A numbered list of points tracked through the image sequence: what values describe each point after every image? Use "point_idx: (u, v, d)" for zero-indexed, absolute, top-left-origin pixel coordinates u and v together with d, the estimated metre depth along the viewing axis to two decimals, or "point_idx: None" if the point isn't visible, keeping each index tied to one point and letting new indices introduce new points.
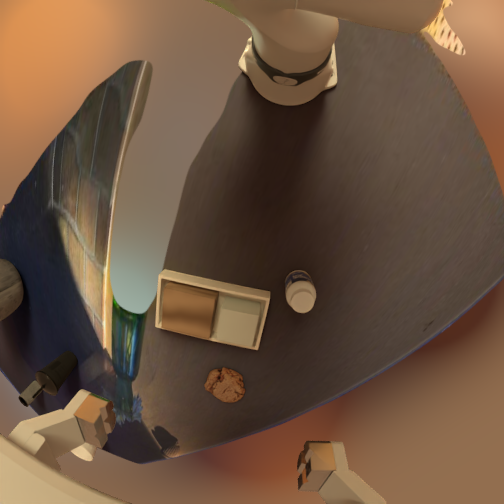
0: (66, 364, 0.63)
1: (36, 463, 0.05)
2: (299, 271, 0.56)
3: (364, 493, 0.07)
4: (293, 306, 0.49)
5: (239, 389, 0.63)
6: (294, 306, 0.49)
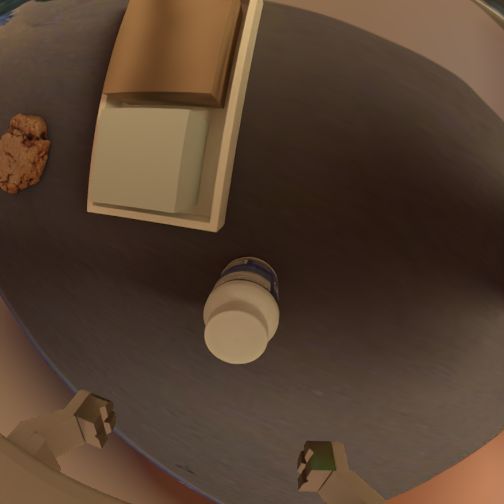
0: None
1: (36, 463, 0.05)
2: None
3: (364, 493, 0.07)
4: (221, 317, 0.17)
5: (13, 182, 0.24)
6: (221, 319, 0.17)
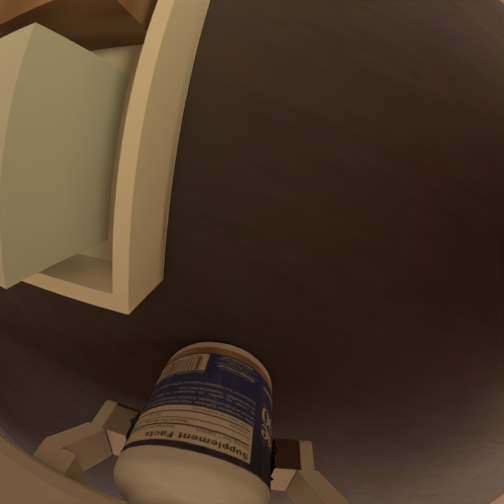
0: None
1: (36, 463, 0.05)
2: None
3: (328, 495, 0.07)
4: None
5: None
6: None
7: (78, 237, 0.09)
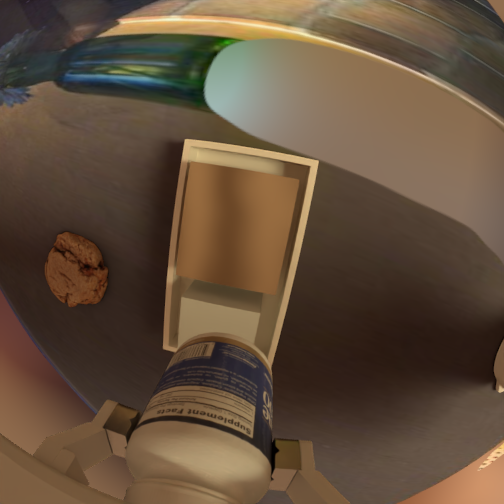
0: None
1: (36, 463, 0.05)
2: (272, 386, 0.13)
3: (329, 495, 0.07)
4: None
5: (74, 301, 0.32)
6: None
7: None
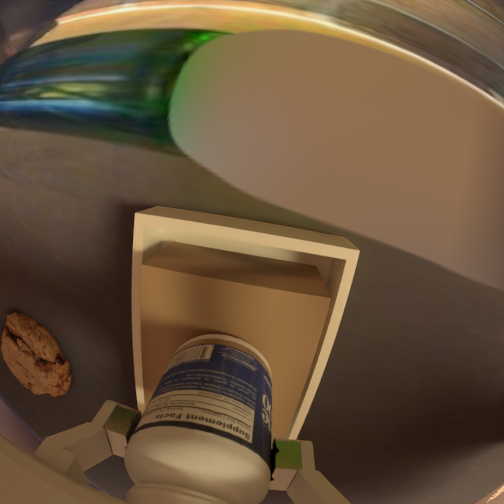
0: None
1: (36, 463, 0.05)
2: None
3: (329, 495, 0.07)
4: None
5: (38, 391, 0.22)
6: None
7: None
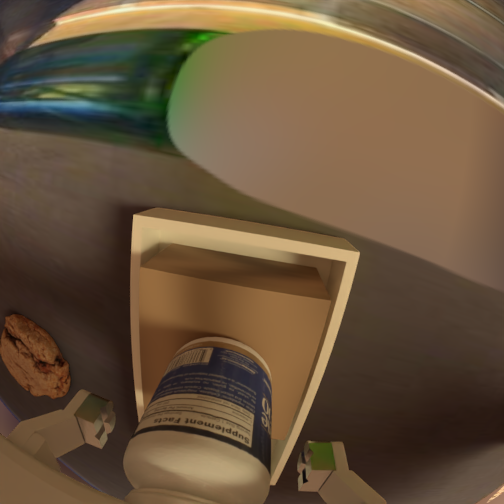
0: None
1: (36, 463, 0.05)
2: None
3: (364, 493, 0.07)
4: None
5: (37, 393, 0.22)
6: None
7: None
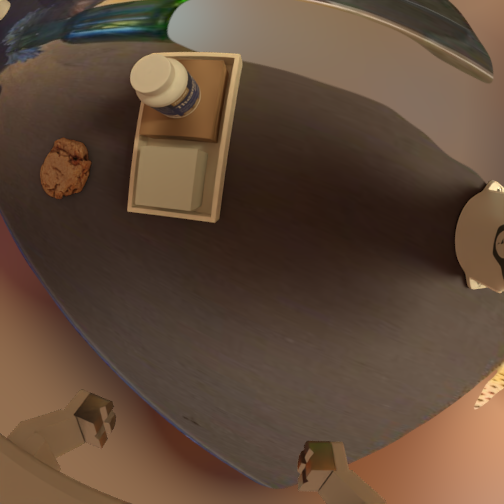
0: None
1: (36, 463, 0.05)
2: (199, 92, 0.29)
3: (364, 493, 0.07)
4: (142, 60, 0.21)
5: (60, 190, 0.37)
6: (142, 61, 0.21)
7: (198, 203, 0.36)
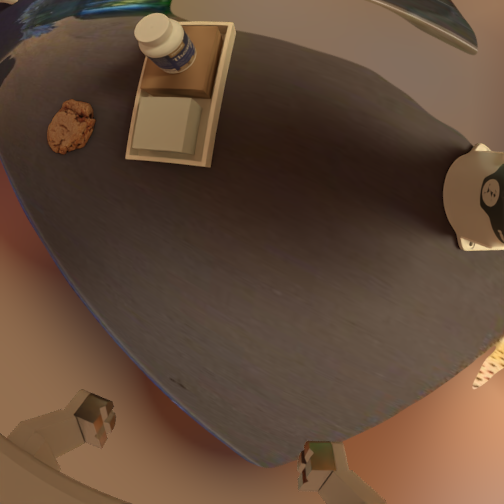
0: None
1: (36, 463, 0.05)
2: (194, 51, 0.30)
3: (364, 493, 0.07)
4: (145, 18, 0.22)
5: (65, 145, 0.39)
6: (145, 18, 0.22)
7: (190, 149, 0.37)
